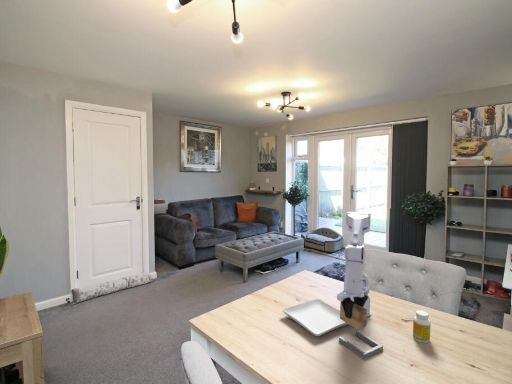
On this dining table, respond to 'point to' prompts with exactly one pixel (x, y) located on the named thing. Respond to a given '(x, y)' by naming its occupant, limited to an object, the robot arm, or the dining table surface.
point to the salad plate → (315, 316)
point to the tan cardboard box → (355, 316)
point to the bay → (362, 354)
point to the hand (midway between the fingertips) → (353, 315)
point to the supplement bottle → (421, 326)
